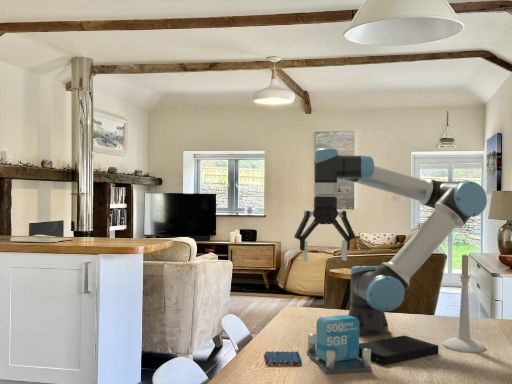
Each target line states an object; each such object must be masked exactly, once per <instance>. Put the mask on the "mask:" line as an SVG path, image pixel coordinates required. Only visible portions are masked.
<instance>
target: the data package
mask: <svg viewBox="0 0 512 384" xmlns="http://www.w3.org/2000/svg"><path fill="white" fill-rule="evenodd" d="M315 324H316V329H315V330H316V333H315V334H316V355H317V357H318V358H319V359H321V360H323V361H325V362H326V350H335V361H343V360H351V359H356V358H357V357H359V356H358V355H359V343H360V334H359V320H358V319H357V318H355V317H352V316H349V315H348V314H343V315H332V316H321V317H318V319H317V320H316V323H315Z"/></svg>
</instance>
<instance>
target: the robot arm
mask: <svg viewBox="0 0 512 384" xmlns="http://www.w3.org/2000/svg"><path fill="white" fill-rule="evenodd" d="M314 153H315V154H314V161H313V162H314V163H313V164H314V185H313V187H314V188H313V190H314V191H313V194H314V195H315V196H314V197H313V210H312V211H310V210H307V209H306V210H304V212H303V218H302V220H301V221H300V224H299V225H298V228H297V230H296V232H295V234H294V239H297V240H299V250H300V251H302V261H303V262H308V240H306V239H307V238H308V237H309V236H310V235H311V233H313V231H314V230H315V229H316V227H317V226H319V225H331V224H332V226H333V227H334V228H335V229H336V230H337V232H338V233H339V234H340V235H341V237H342V238H343V239H342V240H341V261H344V262H347V261H348V251H350V245H351V242H350V241H351V240H354V239H355V238H356V234H355V232H354V230H353V228H352V226H351V224H350V221H349V218H348V217H347V216H348V215H347V210H341V211H339V210H338V197H337V195H338V180H346V181H349V182H352V183H355V184H356V183H357V184H361V185H364V186H367V187H370V188H374V189H377V190H380V191H385V192H387V193H391V194H395V195H398V196H402V197H405V198H407V199H411V200H415V201H418V203H420V205H422V206H425V207H428V208H431V209H434V212H432V214H431V215H429V217H428V218H427V219H426V220H425V221H424V222H423V223H422V224H421V226H420V227H419V228H418V229H417V230H416V231H415V233H413V235H412V236H411V237H410V238H409V239H408V241H406V243H405V244H404V245H403V246H402V247H401V248H400V249H399V250H398V251H397V252H396V254H395V255H394V256H393V257H392V258H391V259H390V260H389V261H386V262H381V263H380V265H354V266H352V267H351V268H350V275H349V277H350V306H349V307H350V308H349V311H348V313H347V315H349V316H352V317H355V318H357V319H358V320H359V336H361V335H363V336H380V335H381V336H382V335H385V334H387V333H389V324H388V320H387V316H386V314H385V312H391V311H394V310H396V309H397V308H398V307H400V306H401V305H402V303H403V302H404V299H405V292H406V291H407V290H408V289H409V287H410V280H411V277H413V276H414V274H416V272H417V271H418V270H419V269H420V268H421V266H423V265H424V264H425V262H427V260H428V259H429V257H430V256H432V254H433V253H434V252H435V251H436V250H437V249H438V247H439V246H440V245H441V244H442V243H443V242H444V240H446V238H447V237H448V236H449V235H450V234H451V233H452V232H453V230H455V228H456V227H463V226H464V225H465V224H466V223H467V222H468V221H469V220H470V218H472V217H474V218H475V217H477V216H479V215H481V213H483V211H485V209H486V208H487V204H488V203H487V202H488V200H487V192H486V190H485V189H484V188H483V187H482V186H481V185H480V184H479V183H477V182H475V181H471V180H462V181H461V180H460V181H459V180H458V181H457V180H455V181H451V180H450V181H442V180H434V179H432V178H431V179H430V178H427V179H420V178H418V177H413V176H410V175H408V174H407V175H406V174H403V173H399V172H396V171H393V170H390V169H386V168H384V167H380V166H375V162H374V159H373V156H372V157H371V156H369V155H341V154H339V152H338V150H337V149H336V148H318V149H316V150H315V152H314ZM312 216H313V218H314V219H313V221H311V223H310V224H309V226H308V227H307V228H306V226H307V224H308V223H309V220H310V218H311V217H312ZM337 217H339V218H340V219H341V223H343V226H344V228H345V230H344V228H343V227H342V226H341V224H340V223H339V222H338V220H337ZM305 228H306V229H305ZM304 229H305V231H304Z"/></svg>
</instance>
